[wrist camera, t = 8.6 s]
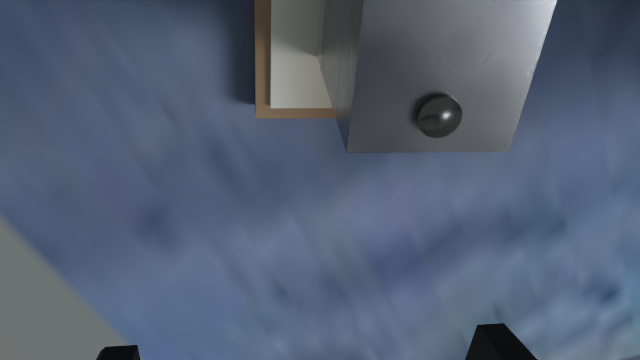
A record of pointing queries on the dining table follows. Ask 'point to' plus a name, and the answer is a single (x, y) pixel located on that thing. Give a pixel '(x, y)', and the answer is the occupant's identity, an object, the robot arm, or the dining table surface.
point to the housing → (429, 71)
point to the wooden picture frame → (288, 61)
